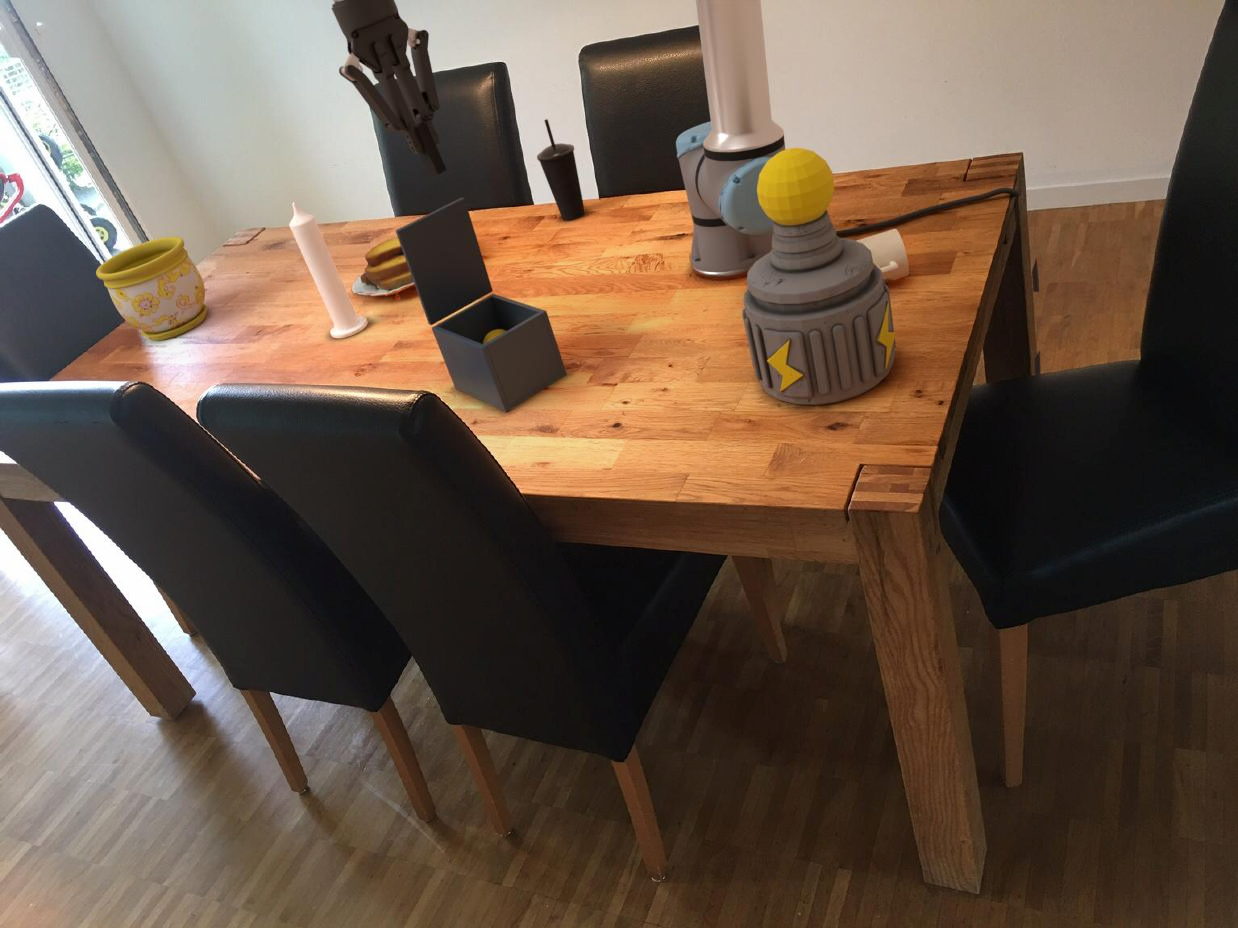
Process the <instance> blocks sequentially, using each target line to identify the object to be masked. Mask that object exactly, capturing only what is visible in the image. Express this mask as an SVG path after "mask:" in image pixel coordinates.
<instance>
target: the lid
mask: <svg viewBox="0 0 1238 928" xmlns="http://www.w3.org/2000/svg"><path fill="white" fill-rule="evenodd" d="M395 233H396V237H398V239H399V242H400V245H401V248H402V250H403V253H404V256H405V259H406V262H407V264H408V267H409V270H410V273H411V276H412V278H413V281H414V284H415V285H414V287H415V290H416V293H417V295H418V298H419V300H420V304H421V307H422V309H423V312H424V314H425V318H426V320H427V323H428V325H430V326H433V325H435V324H438V322H439V323H440V321H442V320H445V319H447V318H449V316H451V315H454V314H456V312H457V313H458V311H461V310H463V309H465V308H467V307H468V306H470V305H471V304H472V303H473V304H474V303H476V301H479V300H481V299H483V298H485V296H488V295H490V294H492V293H493V292H494V290H493V287H492V283H491V280H490V278H489V274H488V270H487V267H486V263H485V260H484V257H483V254H482V251H481V248H480V244H479V241H478V238H477V234H476V232H475V229H474V225H473V222H472V218H471V215H470V212H469V208H468V205H467V201H466V198H464V197H459V198H458V199H456V200H454V201H451V202H450V203H447V204H446V205H444V206H442V207H440V208H437V209H436V210H433V211H431V212H429V213H427V214H425V215H423V216H421V217H419V218H418V219H415V220H414V221H411V222H409V223H408V224H405V225H403V226H401V227H400V228H397V229H395Z"/></svg>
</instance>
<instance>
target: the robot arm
mask: <svg viewBox="0 0 1238 928" xmlns="http://www.w3.org/2000/svg"><path fill="white" fill-rule="evenodd" d="M332 1H333V4H332V5H331V6H332V7H331V10H332V13H333V15H334V17H335V19H336V22H337V23H338V26H339V28H340V30H341V32H342V34H343V36H344V37H345V40H346V43H347V52H348V54H349V55H348V58H347V59H346V61H345V64H344V65H342V66H340V67H339V68H338V73H339V75H340V76H341V77H343V78H344V79H345V80H347V81H348V82H350V83H351V84H352V85H353V86H354V87H355V89H356V90H357V92H358V93H359V95H360V96H361V97H362V99H363V100H364V101H365V102H366V104H367V105H368V106H369V108H370V109H371V111H372V112H373V114H374V115H375V116H376V117H377V119H378V120H379V121H380V123H381V124H382V126H383V127H384V128H385V129H386V130H387V131H388V132H396V131H400V132H402V134H403V135H404V137H405V140H406V142H407V144H408V147H409V149H410V151H411V152H412V153H413V154H414V155H419V157H420V159H421V161H422V164H423V166H424V169H425V170H426V173H427V174H428V176H439V175H440V174H442V173H444V172H446V171H448V169H447V167H446V165H445V162H444V160H443V158H442V156H441V153H440V152H439V151H440V150H439V149H438V146H437V145H438V144H440V137H439V135H438V132H437V130H436V128H435V125H434V124H433V120H434V118H435V115H434V114H435V112H437V111H438V110H440V101H439V96H438V92H437V87H436V82H435V78H434V72H433V69H432V63H431V59H430V54H429V50H428V49H429V40H430V39H429V37H430V35H429V34H430V33H429V32H428V31H427V30H426V29H421V30H417V29H413V28H409V25H408V24H407V23H406V22H405V20H403V18H402V17H401V16H400V14H399V10H398V9H399V8H398V5H397V3H396V1H395V0H332ZM695 5H696V13H697V21H698V29H699V30H698V31H699V37H700V45H701V53H702V62H703V70H704V78H705V84H706V86H705V87H706V93H707V102H708V109H709V116H710V121H707V122H703V123H701V124H698V125H696V126H693V127H691V128H689V129H687V130H684V131H683V132H682V133H680V134H679V135H678V137H677V138H676V141H675V147H676V158H677V160H678V162H679V163H678V164H679V167H680V171H681V175H682V180H683V184H684V185H683V186H684V189H685V193H686V197H687V202H688V206H689V211H690V214H691V219H692V223H693V230H692V238H691V239H692V240H691V250H690V265H691V269H692V273H694V275H695V276H697V277H698V278H701V279H704V280H709V281H730V280H736V279H741V278H745V277H747V274H748V271H749V270H750V268H751V267H752V266H753V264H754V263H755V262H756V261H758V260H759V259H761V258H762V257H763V256H765V255H766V254H768V253H770V252H771V250H772V249H773V247H772V237H773V234H774V233H775V232H774V231H773V226H774V221H773V220H772V219H770V218H769V217H768V216H767V215H766V214H765V212H764V210H763V209H762V207H761V206H760V204H759V200H758V194H757V185H758V180H759V174H760V172H761V171H762V169H763V167H764V166H765V164H766V163H767V161H768V160H769V159H771V158H772V157H773V156H775V155H776V154H777V153H779V152H781V151H783V150H786V141H785V133H784V128H782V126H780V125H779V124H778V123H776V122H775V121H774V120H773V117H772V108H771V97H770V87H769V76H768V65H767V55H766V43H765V34H764V33H765V32H764V22H763V14H762V13H763V11H762V3H761V0H695ZM408 46H409V48H410V54H411V60H412V65H413V69H414V74H415V76H414V74H413V71H412V68H411V62H410V60H409V57H408V55H407V50H408V49H407V48H408ZM361 64H362V65H361ZM363 66H364V67H366V68H368V69H369V70H370V71H371V72H372V75H373V77H374V79H375V80H376V81H377V82H378V84H379V86H380V89H381V91H382V94H383V95H384V97H385V99H386V100H385V99H384V97H383V96H382V94H381V93H380V92H379V91H378V89H377V87H376V86H375V85H374V83H373V82H372V81H371V79H370V78H369V77H368V76H367V75H366V74H365V73H364V68H363ZM416 122H417V123H416ZM1003 194H1004V195H1005V194H1007V195H1011V196H1012V197H1021V196H1022V193H1021V192H1020V191H1018V190H1017V189H1014V188H1012V187H999V188H995V189H993V190H990V191H987V192H984V193H981V194H977V195H972V196H967V197H963V198H959V199H954V200H950V201H947V202H943V203H938V204H936V205H932V206H928V207H925V208H921V209H918V210H915V211H911V212H908V213H905V214H903V215H900V216H897V217H894V218H891V219H886V220H884V221H879V222H875V223H871V224H867V225H862V226H857V227H852V228H847V229H846V228H845V229H840V230H836V235H837V236H838V237H844V236H850V235H855V234H861V233H866V232H871V231H874V230H879V229H883V228H886V227H890V226H892V225H893V226H894V225H896V224H899V223H902V222H903V223H904V222H905V221H908V220H912V219H914V218H918V217H921V216H924V215H927V214H930V213H934V212H938V211H943V210H947V209H949V208H953V207H959V206H962V205H966V204H970V203H975V202H980V201H983V200H987V199H989V198H993V197H996V196H998V195H1003ZM1031 278H1032V290H1033V291H1032V292H1033V293H1039V292H1040V283H1039V282H1040V281H1039V280H1040V279H1039V269H1038V258H1037V257H1036V258H1035V260H1034V264H1033V267H1032V270H1031ZM1037 374H1038V375H1040V374H1041V350H1039V351H1038V352H1037V355H1036V356H1035V357H1034V376H1035V375H1037Z"/></svg>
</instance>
